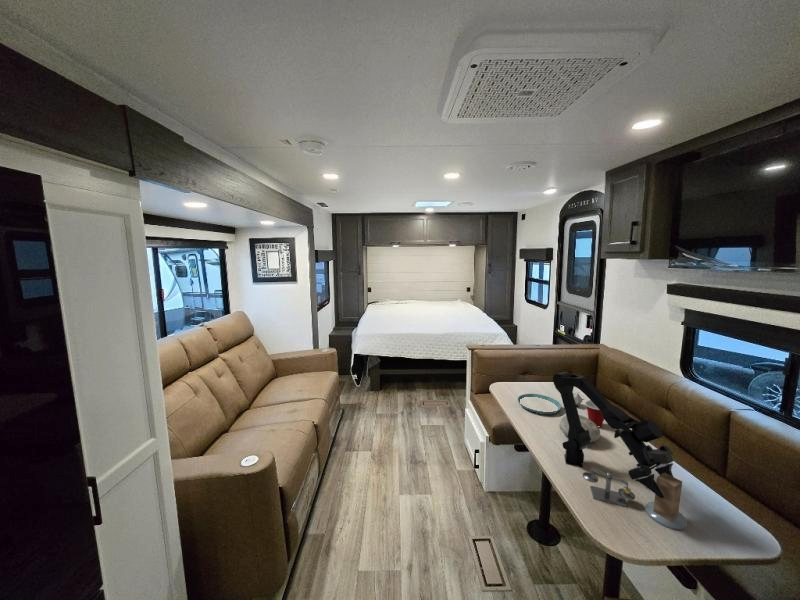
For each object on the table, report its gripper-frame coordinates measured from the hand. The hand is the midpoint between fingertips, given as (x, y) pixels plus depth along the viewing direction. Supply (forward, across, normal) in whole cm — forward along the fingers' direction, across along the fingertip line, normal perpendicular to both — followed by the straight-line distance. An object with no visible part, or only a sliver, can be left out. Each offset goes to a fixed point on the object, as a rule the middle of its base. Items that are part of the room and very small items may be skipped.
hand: (669, 493), depth 106 cm
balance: (-4, -8, +17) cm, 19 cm away
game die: (-42, +52, +55) cm, 87 cm away
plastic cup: (-28, +40, +41) cm, 64 cm away
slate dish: (+6, 0, +7) cm, 9 cm away
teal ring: (-48, +31, +62) cm, 84 cm away
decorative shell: (-25, +21, +39) cm, 51 cm away
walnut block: (+5, 0, +6) cm, 8 cm away
